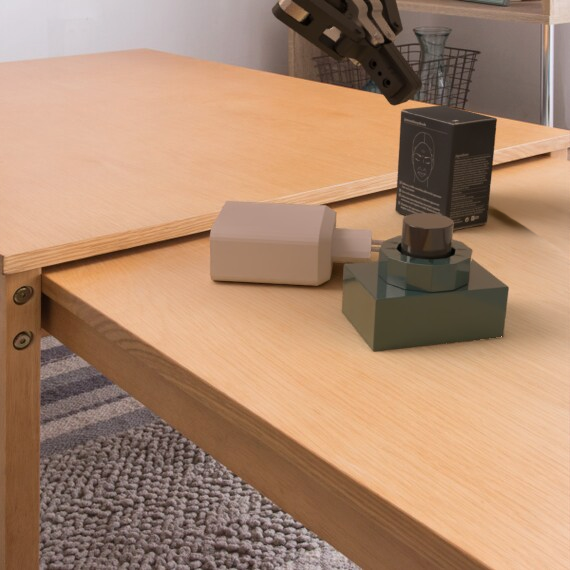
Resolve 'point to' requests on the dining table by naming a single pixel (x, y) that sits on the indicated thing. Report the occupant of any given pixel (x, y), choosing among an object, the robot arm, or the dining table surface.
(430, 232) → the brown push button
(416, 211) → the box
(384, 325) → the base
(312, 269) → the charger
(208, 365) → the dining table surface
